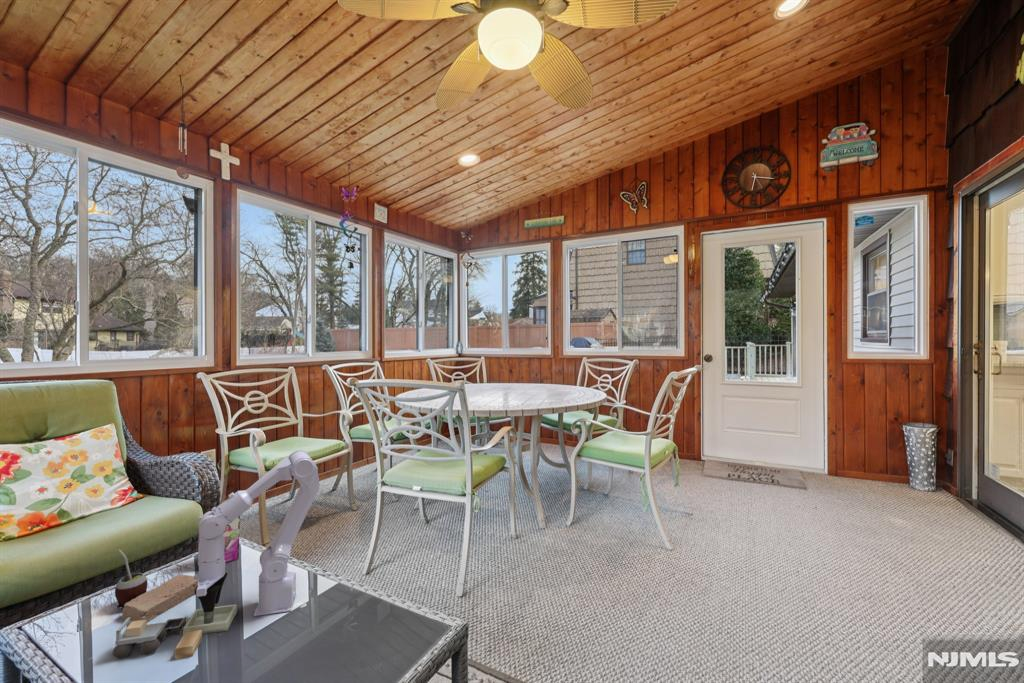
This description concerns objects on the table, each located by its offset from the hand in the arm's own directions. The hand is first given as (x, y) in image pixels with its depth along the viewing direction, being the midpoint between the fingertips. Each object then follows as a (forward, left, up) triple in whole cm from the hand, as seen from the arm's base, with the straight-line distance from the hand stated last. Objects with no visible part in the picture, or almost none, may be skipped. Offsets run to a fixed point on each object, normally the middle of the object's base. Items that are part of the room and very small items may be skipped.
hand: (211, 607), depth 119 cm
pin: (+1, 0, -4) cm, 4 cm away
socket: (+8, 0, -4) cm, 10 cm away
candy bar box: (+9, -35, -5) cm, 36 cm away
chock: (+2, +9, -5) cm, 11 cm away
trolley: (+13, +6, -4) cm, 15 cm away
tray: (0, 0, -4) cm, 4 cm away
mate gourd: (+25, -15, -5) cm, 29 cm away
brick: (+16, -13, -5) cm, 21 cm away
